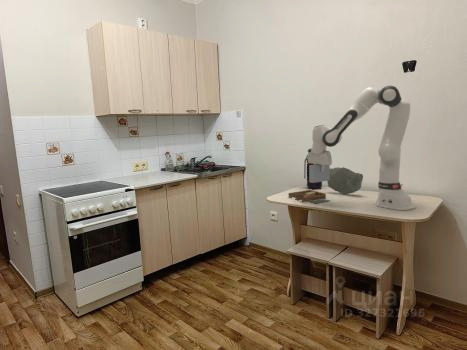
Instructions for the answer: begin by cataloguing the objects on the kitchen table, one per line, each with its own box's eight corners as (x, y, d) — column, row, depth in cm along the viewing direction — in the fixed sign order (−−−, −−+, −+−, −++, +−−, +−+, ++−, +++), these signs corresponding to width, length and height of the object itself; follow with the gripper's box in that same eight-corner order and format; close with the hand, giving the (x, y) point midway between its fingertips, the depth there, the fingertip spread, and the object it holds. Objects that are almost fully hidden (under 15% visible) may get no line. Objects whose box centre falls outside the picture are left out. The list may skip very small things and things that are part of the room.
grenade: (320, 186, 271) (320, 150, 266) (323, 189, 259) (322, 151, 255) (303, 187, 272) (303, 151, 268) (305, 189, 261) (304, 152, 256)
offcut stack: (317, 198, 228) (316, 192, 228) (305, 200, 224) (305, 194, 224) (313, 197, 232) (313, 191, 231) (301, 199, 228) (301, 193, 227)
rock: (364, 196, 230) (365, 167, 227) (361, 197, 225) (361, 168, 222) (330, 191, 249) (330, 165, 246) (326, 193, 244) (325, 166, 241)
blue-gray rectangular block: (329, 180, 219) (329, 164, 218) (312, 182, 213) (312, 166, 212) (325, 179, 222) (325, 163, 221) (309, 182, 216) (309, 165, 215)
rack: (325, 198, 228) (325, 193, 228) (303, 202, 220) (302, 197, 220) (310, 194, 243) (310, 189, 243) (288, 197, 235) (288, 193, 235)
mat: (330, 201, 219) (330, 200, 219) (315, 203, 214) (315, 203, 214) (323, 199, 226) (323, 198, 226) (308, 201, 220) (308, 201, 220)
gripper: (334, 150, 207) (334, 172, 209) (313, 149, 225) (313, 169, 227) (326, 151, 204) (326, 173, 206) (305, 149, 223) (306, 169, 225)
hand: (319, 171), depth 217 cm, fingers closed on blue-gray rectangular block, 3 cm apart
